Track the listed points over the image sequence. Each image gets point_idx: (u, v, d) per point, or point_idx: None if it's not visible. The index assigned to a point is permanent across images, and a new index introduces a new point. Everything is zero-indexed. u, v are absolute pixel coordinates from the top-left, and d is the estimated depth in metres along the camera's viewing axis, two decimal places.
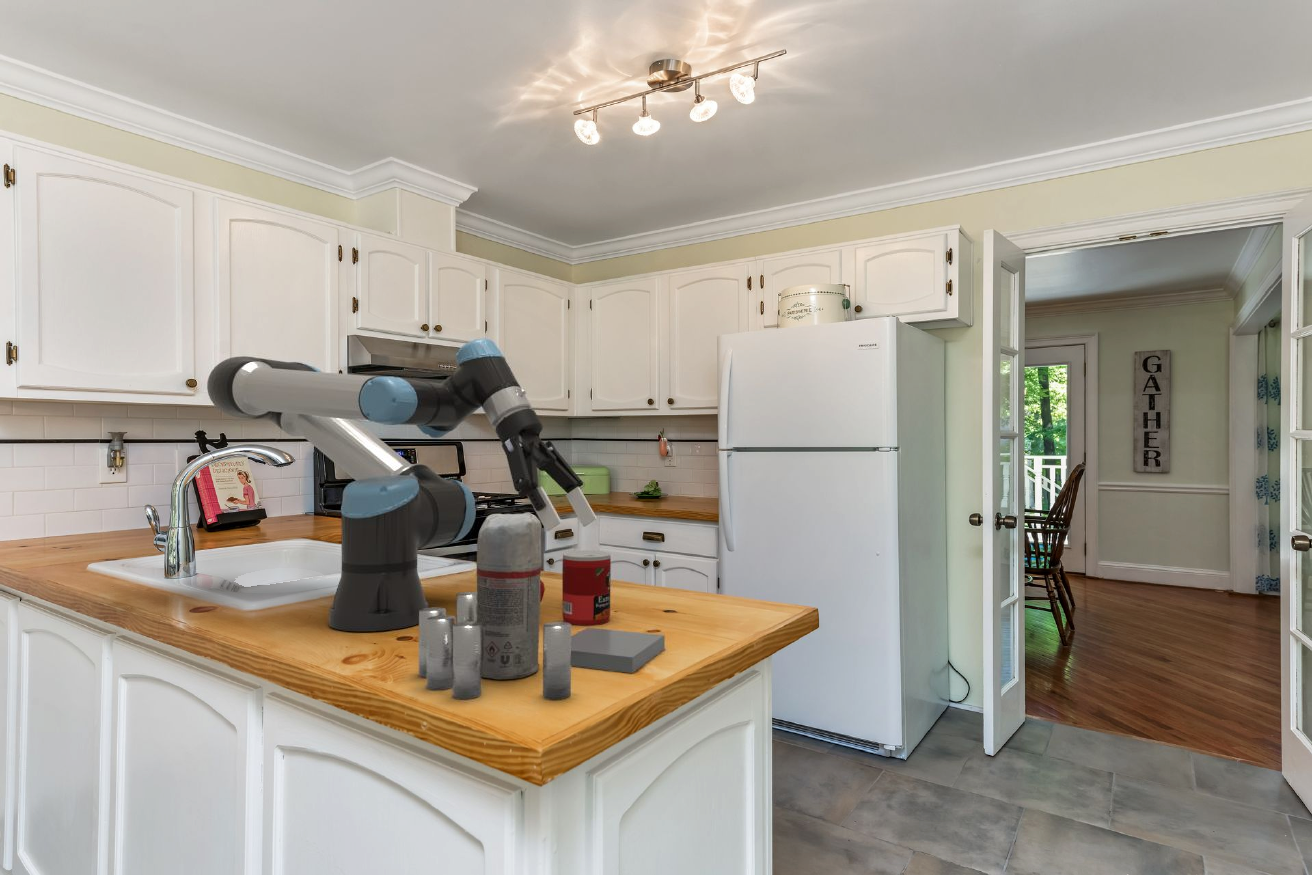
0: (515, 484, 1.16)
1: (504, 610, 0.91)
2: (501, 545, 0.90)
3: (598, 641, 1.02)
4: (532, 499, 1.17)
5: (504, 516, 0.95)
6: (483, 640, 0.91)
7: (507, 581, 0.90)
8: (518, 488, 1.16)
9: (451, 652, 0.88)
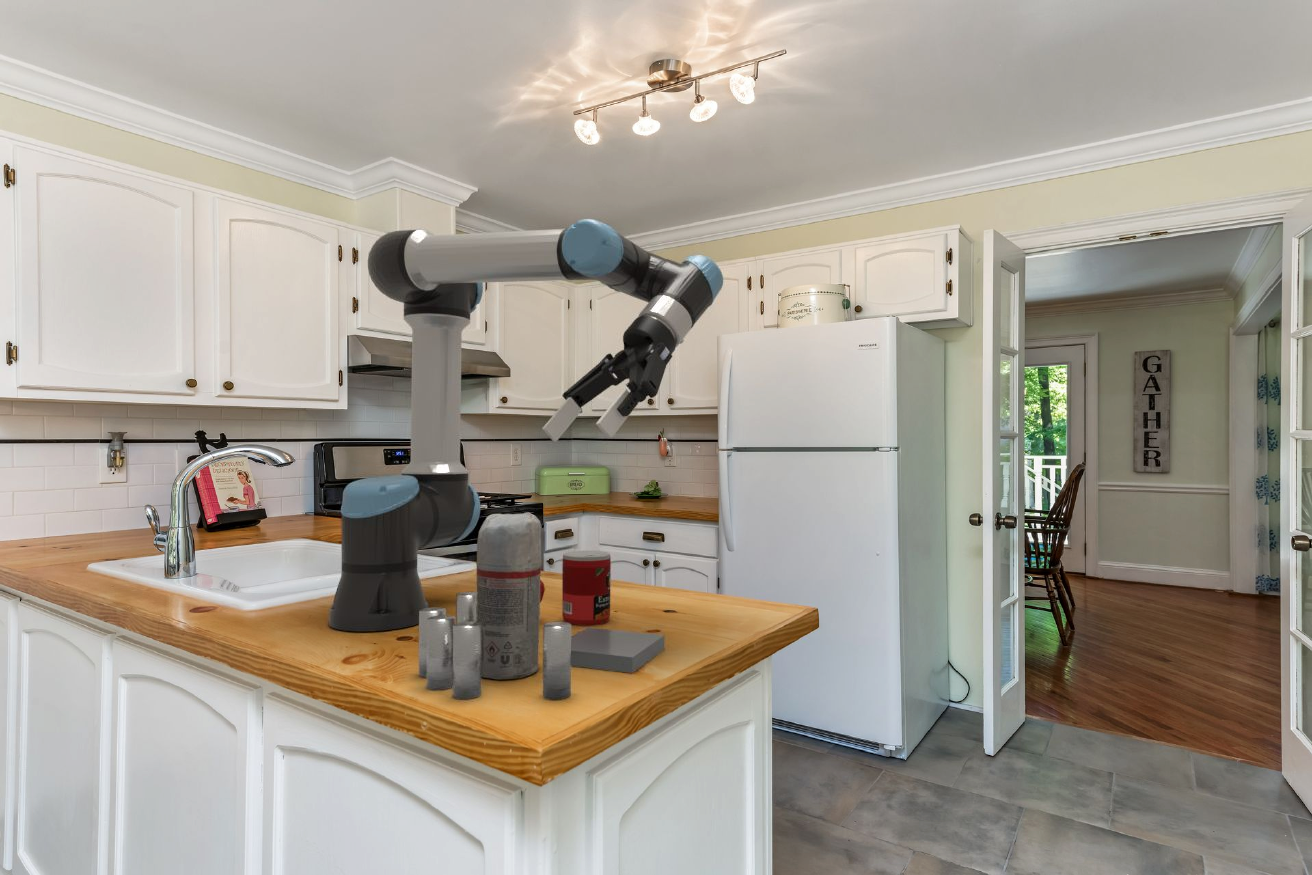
0: (648, 380, 0.98)
1: (504, 610, 0.91)
2: (501, 545, 0.90)
3: (598, 641, 1.02)
4: (631, 400, 0.98)
5: (504, 516, 0.95)
6: (483, 640, 0.91)
7: (507, 581, 0.90)
8: (646, 385, 0.98)
9: (451, 652, 0.88)
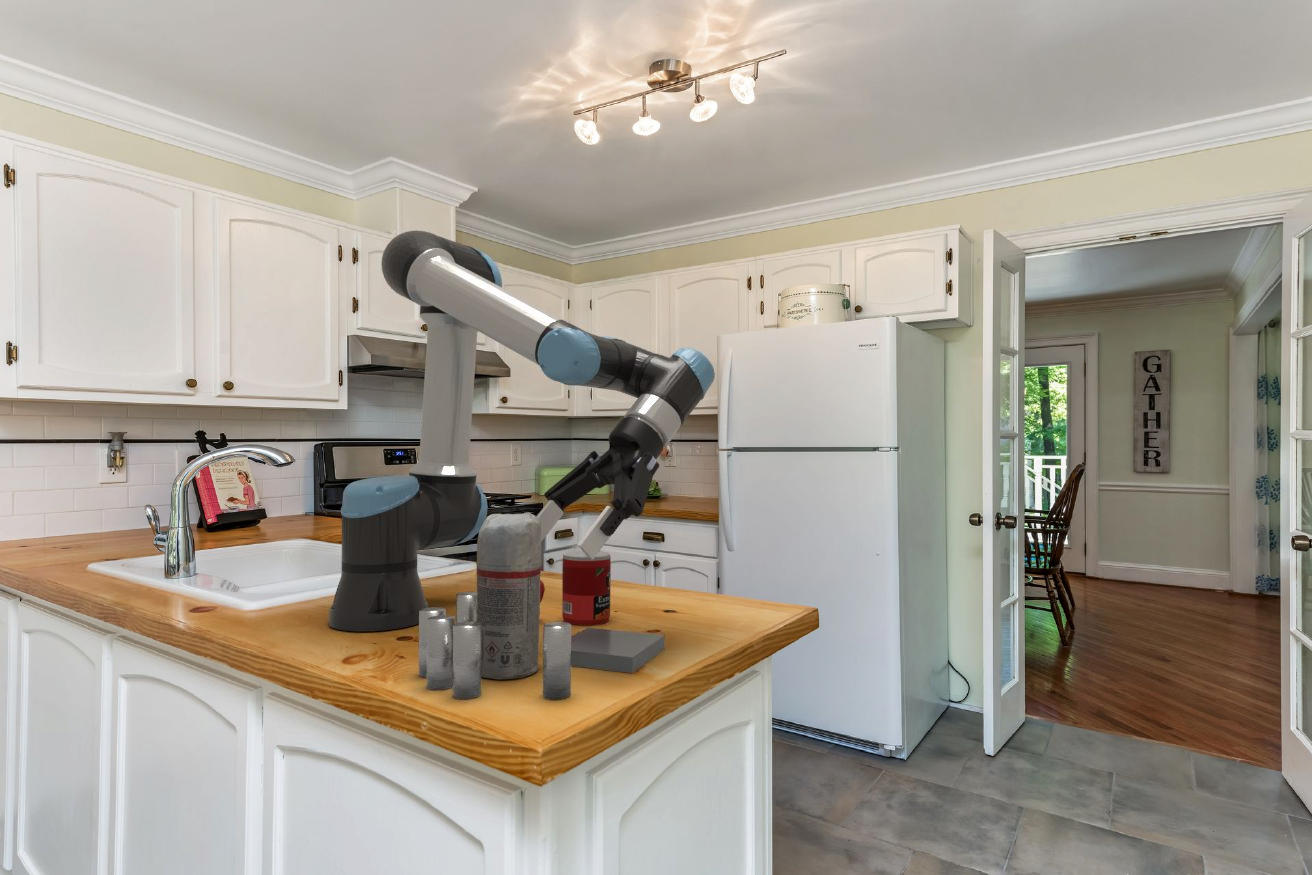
0: (634, 498, 0.94)
1: (504, 610, 0.91)
2: (501, 545, 0.90)
3: (598, 641, 1.02)
4: (615, 519, 0.94)
5: (504, 516, 0.95)
6: (483, 640, 0.91)
7: (507, 581, 0.90)
8: (631, 505, 0.93)
9: (451, 652, 0.88)
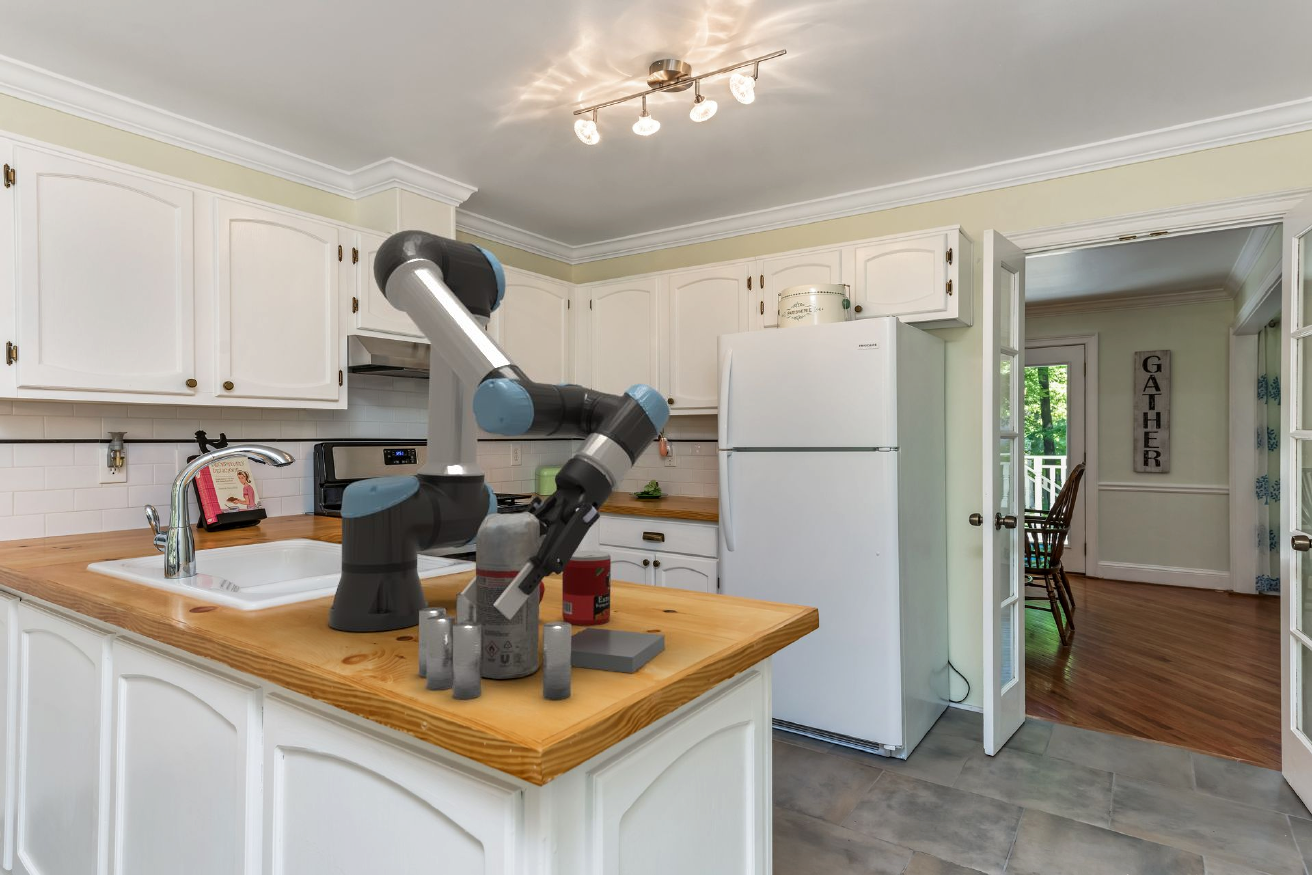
0: (554, 557, 0.90)
1: None
2: (500, 544, 0.91)
3: (598, 641, 1.02)
4: (534, 578, 0.90)
5: (503, 516, 0.95)
6: (483, 640, 0.92)
7: (506, 581, 0.91)
8: (550, 563, 0.90)
9: (451, 652, 0.88)
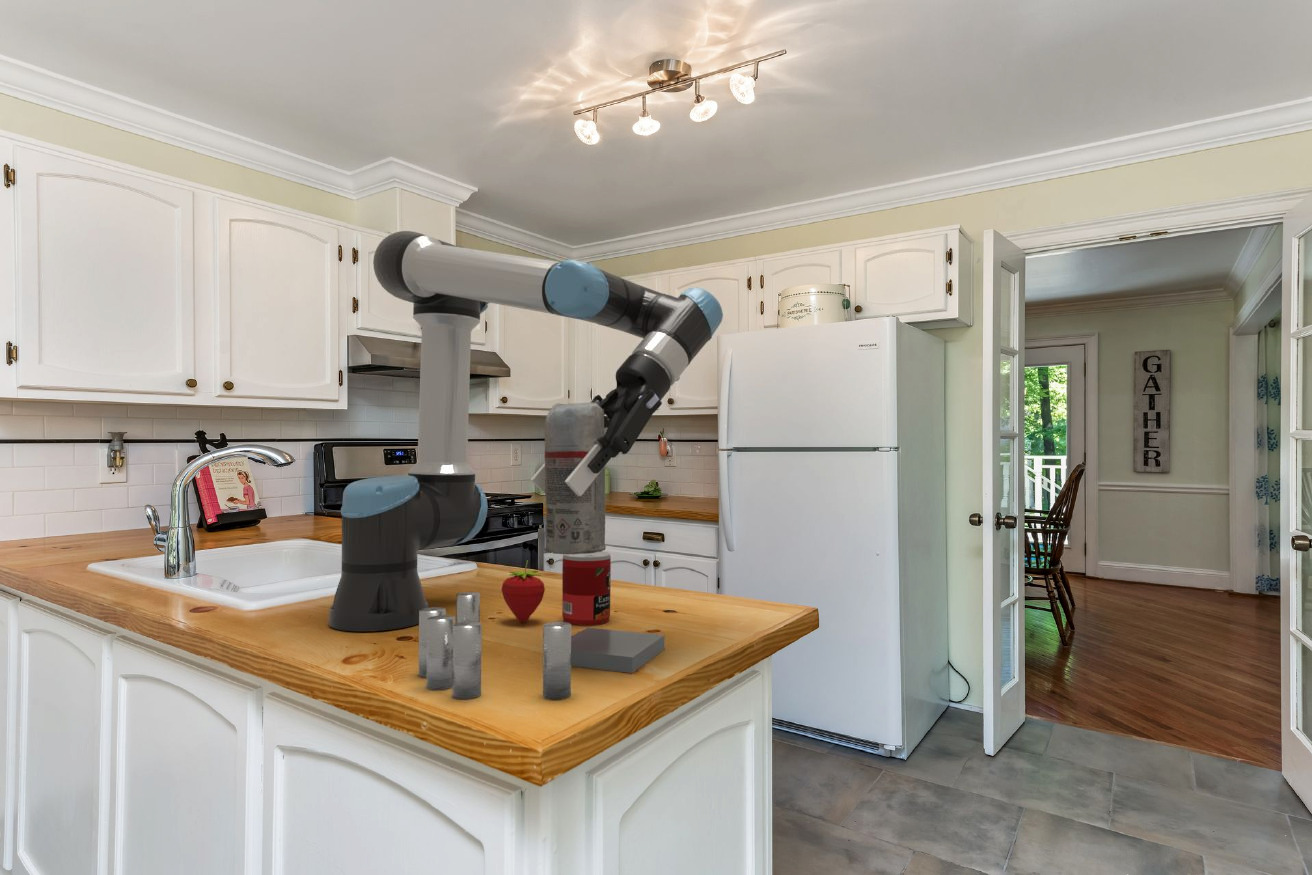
0: (621, 436, 0.94)
1: None
2: (569, 426, 0.95)
3: (598, 641, 1.02)
4: (602, 457, 0.94)
5: (569, 404, 0.99)
6: (554, 518, 0.96)
7: (576, 461, 0.95)
8: (617, 442, 0.94)
9: (451, 652, 0.88)
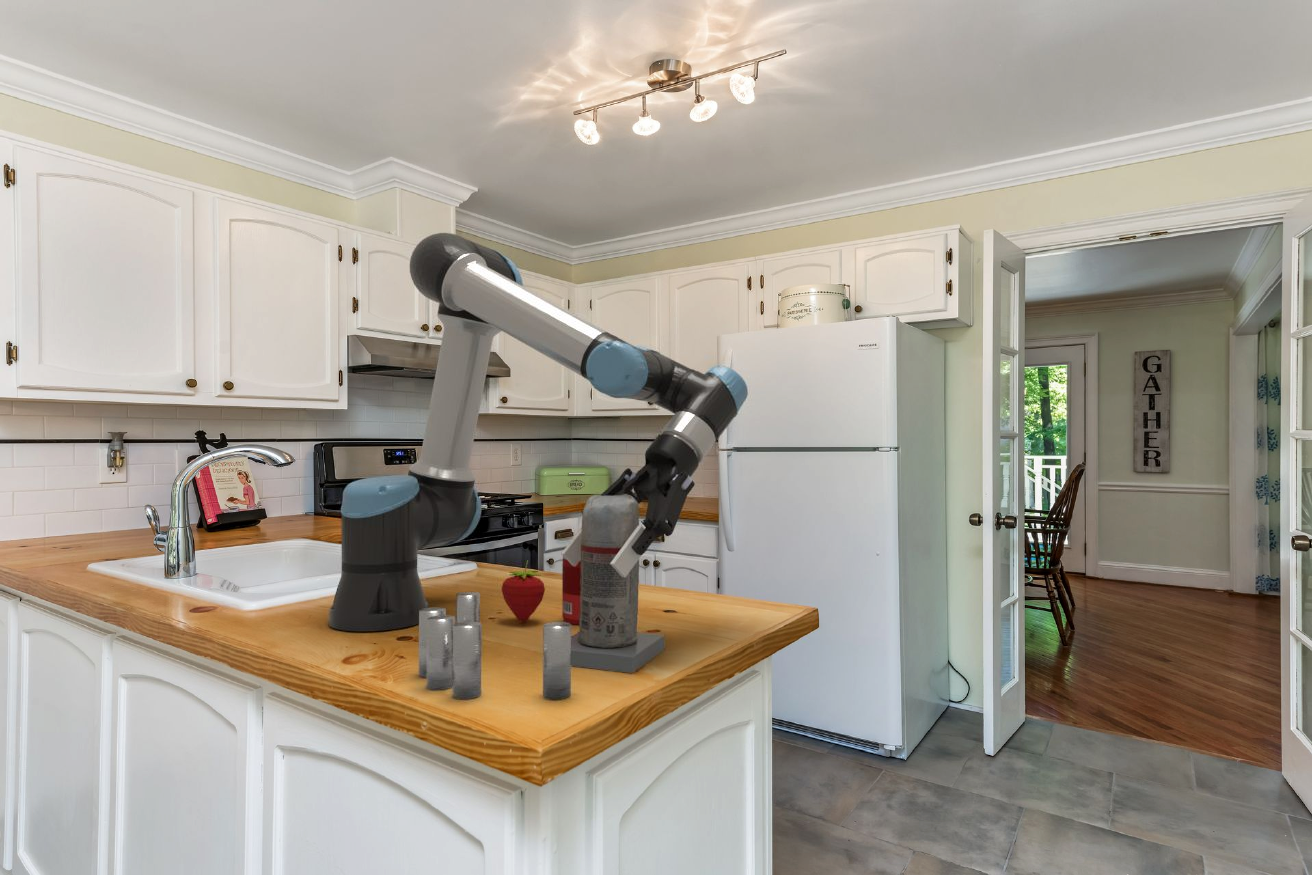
0: (665, 519, 0.97)
1: (610, 583, 0.98)
2: (607, 523, 0.98)
3: None
4: (646, 539, 0.97)
5: (605, 497, 1.02)
6: (589, 611, 0.99)
7: (613, 557, 0.98)
8: (662, 525, 0.96)
9: (451, 652, 0.88)
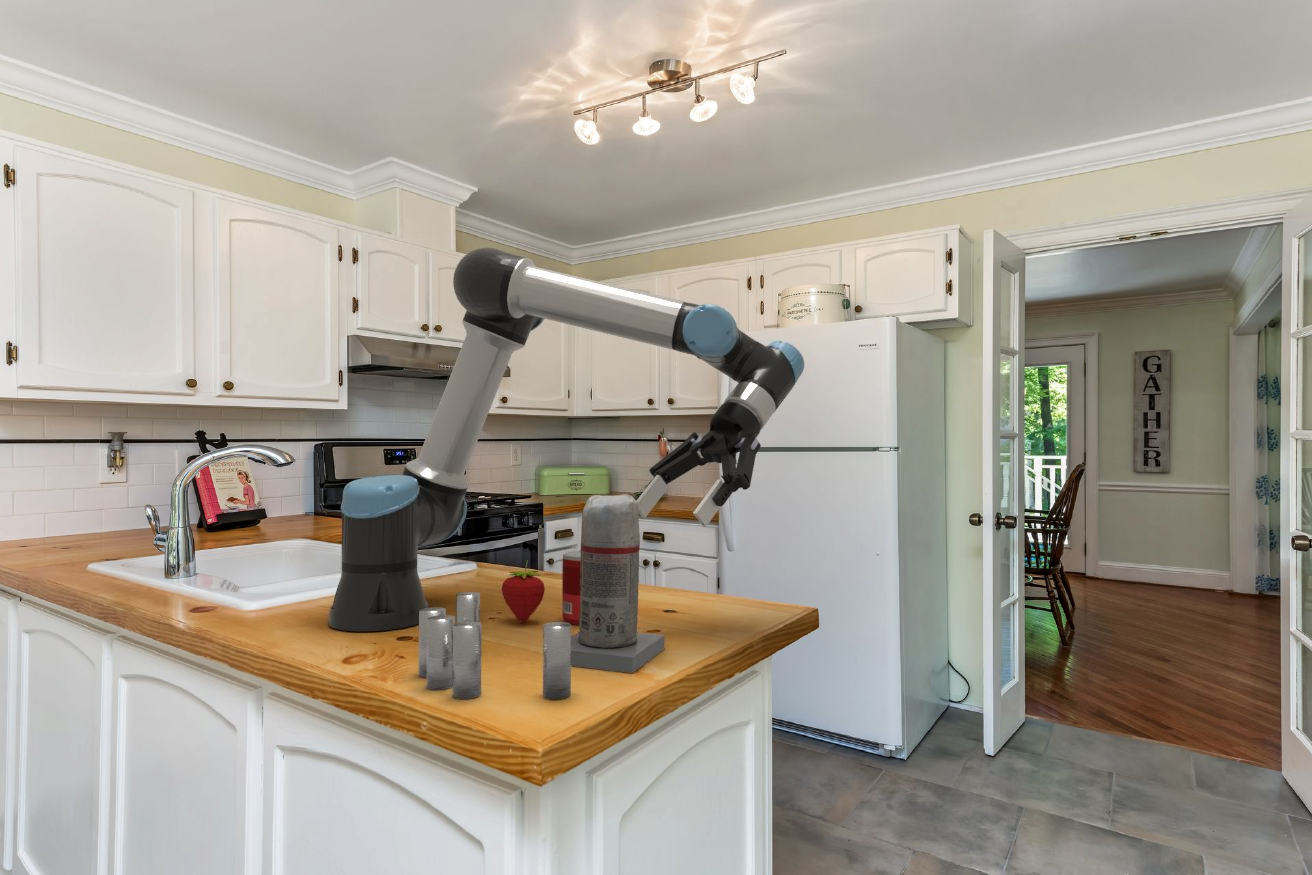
0: (743, 473, 1.05)
1: (609, 583, 0.98)
2: (607, 523, 0.98)
3: None
4: (725, 491, 1.05)
5: (605, 497, 1.02)
6: (589, 611, 0.99)
7: (613, 557, 0.98)
8: (740, 479, 1.04)
9: (451, 652, 0.88)
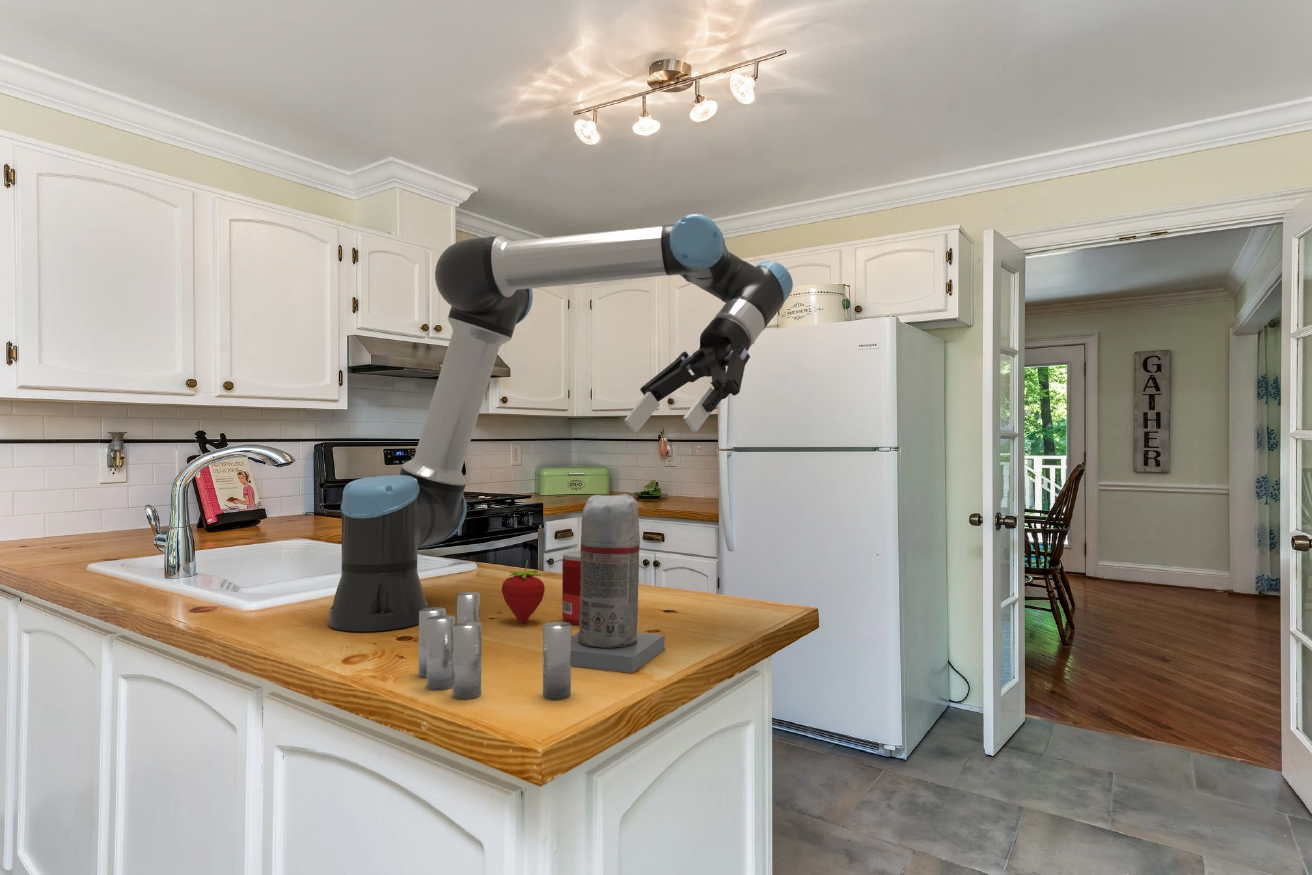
0: (732, 379, 1.05)
1: (609, 583, 0.98)
2: (607, 523, 0.98)
3: None
4: (715, 397, 1.05)
5: (605, 497, 1.02)
6: (589, 611, 0.99)
7: (613, 557, 0.98)
8: (730, 384, 1.05)
9: (451, 652, 0.88)
